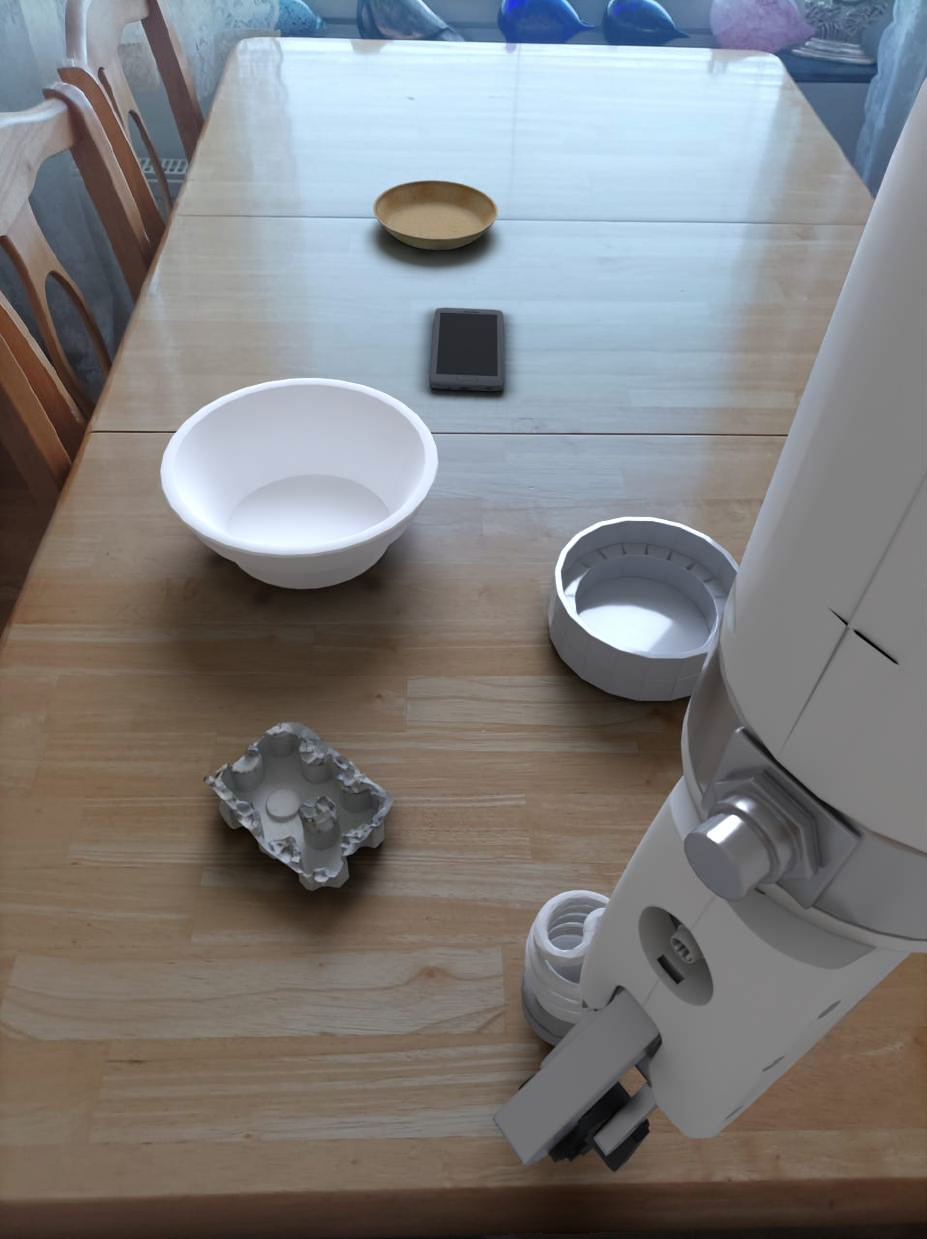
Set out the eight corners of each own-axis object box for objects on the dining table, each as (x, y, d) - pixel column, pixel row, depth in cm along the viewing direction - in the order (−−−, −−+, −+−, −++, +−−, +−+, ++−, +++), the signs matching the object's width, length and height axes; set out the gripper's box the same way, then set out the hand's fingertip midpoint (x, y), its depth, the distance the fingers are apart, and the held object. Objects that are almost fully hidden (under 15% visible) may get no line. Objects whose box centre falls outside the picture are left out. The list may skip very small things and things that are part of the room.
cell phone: (429, 389, 91) (429, 382, 91) (434, 312, 100) (434, 306, 100) (504, 392, 91) (504, 385, 91) (503, 315, 100) (503, 308, 100)
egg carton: (205, 808, 61) (192, 775, 58) (291, 736, 64) (284, 701, 61) (319, 913, 56) (312, 882, 53) (404, 828, 60) (403, 795, 57)
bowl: (159, 484, 81) (137, 405, 75) (389, 433, 87) (387, 357, 80) (210, 663, 68) (189, 586, 62) (476, 590, 74) (481, 513, 68)
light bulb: (540, 1088, 50) (566, 1012, 41) (495, 990, 54) (510, 900, 44) (630, 1043, 52) (674, 961, 43) (581, 952, 55) (613, 857, 46)
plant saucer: (504, 208, 117) (506, 187, 115) (486, 266, 107) (487, 244, 105) (389, 194, 118) (389, 173, 116) (360, 251, 109) (359, 229, 107)
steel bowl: (759, 617, 73) (780, 568, 69) (680, 738, 65) (697, 691, 61) (603, 542, 78) (614, 492, 74) (512, 646, 70) (518, 597, 66)
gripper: (731, 1235, 13) (572, 1334, 25) (1288, 655, 20) (944, 962, 33) (411, 827, 16) (415, 1093, 29) (976, 465, 24) (779, 807, 36)
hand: (694, 1024), depth 31 cm, fingers open, 9 cm apart
